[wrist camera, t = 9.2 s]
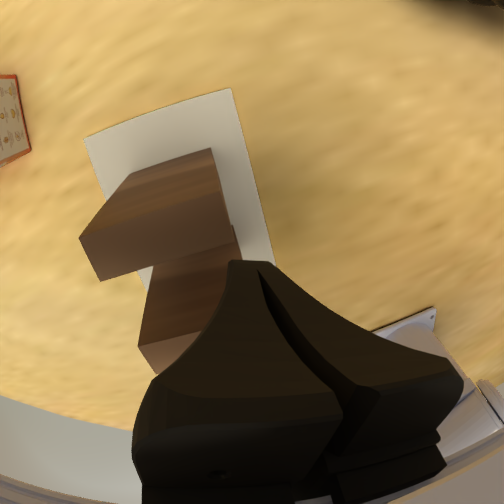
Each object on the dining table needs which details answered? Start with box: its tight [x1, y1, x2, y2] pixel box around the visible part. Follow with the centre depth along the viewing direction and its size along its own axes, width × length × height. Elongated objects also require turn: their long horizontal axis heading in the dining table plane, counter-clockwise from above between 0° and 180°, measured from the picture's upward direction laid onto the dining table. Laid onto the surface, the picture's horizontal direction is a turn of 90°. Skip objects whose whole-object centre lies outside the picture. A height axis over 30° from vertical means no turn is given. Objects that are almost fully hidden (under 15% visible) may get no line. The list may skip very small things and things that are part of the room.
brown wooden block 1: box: [79, 147, 235, 282], centre depth 14 cm, size 2×5×9 cm, turn 103°
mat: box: [83, 88, 276, 293], centre depth 22 cm, size 23×9×1 cm, turn 14°
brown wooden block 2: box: [138, 225, 243, 374], centre depth 16 cm, size 2×5×9 cm, turn 104°
